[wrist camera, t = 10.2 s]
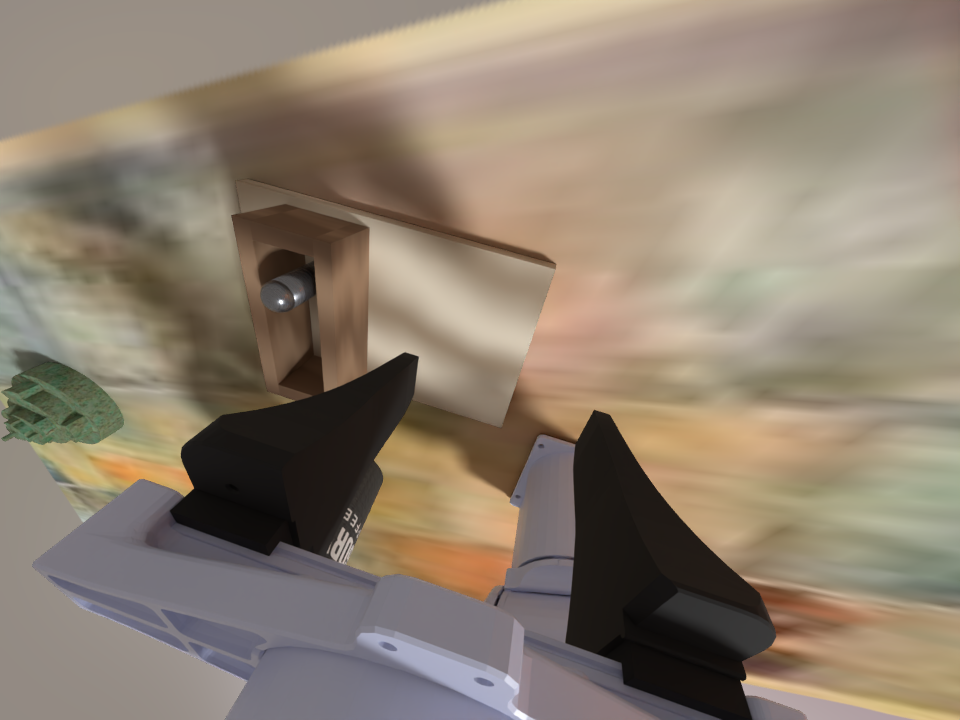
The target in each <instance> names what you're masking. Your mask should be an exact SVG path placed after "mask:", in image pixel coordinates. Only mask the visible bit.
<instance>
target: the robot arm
mask: <svg viewBox="0 0 960 720" xmlns="http://www.w3.org/2000/svg"><path fill="white" fill-rule="evenodd" d="M418 360H419V356H416V355H413V354H409V353H406V352H404V353H402V354H400V355H398V356H397V357H395V358H393V359H392V360H390V361H388V362H386V363H385V364H383V365H381V366H379V367H378V368H376V369H374V370H372V371H370V372H368V373H366V374H365V375H363V376H361V377H359V378H356V379H354V380H352V381H350V382H348V383H346V384H344V385H341V386H339V387H337V388H334V389H331V390H329V391H326V392H323V393H321V394H318V395H314V396H311V397H308V398H304V399H301V400H298V401H294V402H291V403H287V404H282V405H278V406H274V407H269V408H264V409H259V410H253V411H247V412H240V413H234V414H227V415H222V416H220V417H219V418H218V419H216V420H215V421H214V422H212V423H211V424H210V425H209V426H207V427H206V428H205V429H203V430H202V431H201V432H200V433H198V434H197V435H196V436H194V437H193V438H192V439H191V440H189V441H188V442H187V443H186V444H185V445H184V446H183V447H182V450H181V458H182V462H183V465H184V467H185V469H186V471H187V473H188V475H189V478H190V480H191V482H192V484H193V486H194V489H193V490H192V491H191V492H190V493H189V494H188V495H187V496H185V497H184V496H183V495H181V494H180V493H179V492H177V491H175V490H173V489H170V488H168V487H165V486H162V485H159V484H156V483H153V482H151V481H148V480H145V479H139V480H138V481H137V482H135V483H134V484H133V485H131V486H130V487H129V488H128V489H126V490H125V491H124V492H122V493H121V494H120V495H119V496H117V497H116V498H115V499H113V500H112V501H111V502H110V503H108V504H107V505H106V506H104V507H103V508H102V509H101V510H99V511H98V512H97V513H95V514H94V515H93V516H92V517H90V518H89V519H88V520H86V521H85V522H84V523H83V524H81V525H80V526H79V527H77V528H76V529H75V530H74V531H72V532H71V533H70V534H68V535H67V536H66V537H65V538H63V539H62V540H61V541H59V542H58V543H57V544H56V545H54V546H53V547H52V548H50V549H49V550H48V551H47V552H45V553H44V554H43V555H41V556H40V557H39V558H38V559H36V560H35V561H34V562H33V564H32V567H33V568H34V569H35V570H37V571H38V572H39V573H40V574H41V575H43V576H44V577H45V578H46V579H47V580H48V581H49V582H51V583H52V584H53V585H54V586H55V587H57V588H58V589H59V590H60V591H61V592H63V593H64V594H65V595H66V596H67V597H68V598H69V599H71V600H72V601H73V602H74V603H76V604H77V605H78V606H79V607H81V608H83V609H85V610H87V611H90V612H92V613H95V614H97V615H100V616H102V617H105V618H107V619H110V620H112V621H115V622H117V623H119V624H122V625H124V626H126V627H129V628H131V629H133V630H136V631H138V632H140V633H143V634H145V635H147V636H149V637H151V638H153V639H156V640H158V641H160V642H162V643H164V644H167V645H169V646H171V647H173V648H175V649H177V650H180V651H182V652H184V653H186V654H189V655H190V656H193V657H195V658H197V659H199V660H201V661H203V662H205V663H208V664H210V665H212V666H214V667H216V668H218V669H221V670H223V671H225V672H227V673H229V674H231V675H233V676H235V677H238V678H240V679H242V680H244V681H246V682H247V683H246V685H245V686H244V688H243V690H242V691H241V693H240V695H239V696H238V698H237V700H236V702H235V703H234V705H233V706H232V708H231V710H230V711H229V713H228V715H227V716H226V718H225V720H807V717H806V715H805V714H803V713H802V712H801V711H799V710H796V709H793V708H790V707H787V706H784V705H781V704H779V703H776V702H773V701H770V700H767V699H765V698H761V697H757V696H745V694H744V691H743V688H742V685H741V681H744V680H746V673H745V670H744V667H743V664H742V661H743V660H745V659H747V658H750V657H752V656H754V655H756V654H758V653H760V652H762V651H764V650H766V649H767V648H769V647H770V646H771V645H772V644H773V642H774V640H775V638H776V632H775V628H774V626H773V624H772V621H771V619H770V617H769V614H768V612H767V609H766V607H765V605H764V602H763V600H762V598H761V596H760V594H759V592H757V591H756V590H755V589H754V588H753V587H752V586H750V585H749V584H748V583H747V582H746V581H745V580H744V579H742V578H741V577H740V576H739V575H738V574H737V573H735V572H734V571H733V570H732V569H731V568H730V567H729V566H727V565H726V564H725V563H724V562H723V561H722V560H721V559H720V558H719V557H718V556H717V555H716V554H715V553H714V552H713V551H711V550H710V549H709V548H708V547H707V546H706V545H705V544H704V543H703V542H702V541H701V540H700V539H699V538H698V537H697V536H696V535H695V534H694V533H693V531H692V530H691V529H690V528H689V527H688V526H687V525H686V524H685V523H684V522H683V521H682V519H681V518H680V517H679V516H678V515H677V514H676V513H675V511H674V510H673V509H672V508H671V507H670V506H669V504H668V503H667V502H666V501H665V499H664V498H663V497H662V496H661V494H660V493H659V492H658V491H657V489H656V488H655V486H654V485H653V484H652V482H651V481H650V480H649V478H648V477H647V475H646V474H645V472H644V471H643V469H642V468H641V466H640V465H639V463H638V462H637V460H636V459H635V457H634V455H633V454H632V452H631V450H630V449H629V447H628V445H627V444H626V442H625V440H624V439H623V437H622V435H621V433H620V432H619V430H618V428H617V426H616V425H615V423H614V421H613V419H612V418H611V416H610V415H609V414H606V413H603V412H599V411H596V410H594V411H593V413H592V415H591V417H590V419H589V420H588V422H587V424H586V426H585V428H584V430H583V431H582V433H581V435H580V437H579V439H578V441H577V443H576V444H572V443H569V442H566V441H563V440H560V439H557V438H553V437H550V436H547V435H539V436H538V437H537V439H536V441H535V444H534V446H533V448H532V450H531V453H530V455H529V457H528V459H527V462H526V464H525V466H524V469H523V471H522V473H521V475H520V478H519V480H518V482H517V485H516V487H515V489H514V491H513V494H512V496H511V498H510V503H511V504H512V505H513V506H516V507H519V508H520V509H519V517H518V524H517V531H516V538H515V545H514V553H513V560H512V568H508V569H507V572H506V579H505V585H504V586H501V585H498V586H495V587H494V588H493V589H492V590H491V592H490V593H489V595H488V597H487V598H486V599H485V600H484V602H482V601H480V600H477V599H474V598H471V597H468V596H466V595H463V594H460V593H457V592H454V591H451V590H449V589H446V588H443V587H440V586H437V585H434V584H432V583H429V582H426V581H423V580H420V579H418V578H414V577H410V576H405V575H401V574H394V575H386V576H383V577H378V576H376V575H373V574H370V573H367V572H364V571H362V570H359V569H356V568H353V567H350V566H348V565H345V564H342V563H339V562H336V561H334V560H331V559H328V558H325V555H326V553H327V551H328V549H329V547H330V545H331V542H332V540H333V538H334V536H335V534H336V532H337V530H338V528H339V526H340V524H341V522H342V520H343V517H344V515H345V513H346V511H347V509H348V507H349V505H350V503H351V501H352V500H353V498H354V496H355V494H356V492H357V490H358V488H359V486H360V484H361V482H362V480H363V478H364V477H365V475H366V473H367V471H368V469H369V467H370V465H371V464H372V462H373V461H374V459H375V457H376V456H377V454H378V453H379V451H380V450H381V448H382V447H383V445H384V444H385V442H386V441H387V440H388V438H389V437H390V435H391V434H392V432H393V431H394V429H395V428H396V426H397V425H398V423H399V422H400V420H401V419H402V417H403V416H404V414H405V412H406V410H407V408H408V406H409V404H410V402H411V400H412V398H413V396H414V392H415V384H416V376H417V368H418ZM539 444H543V445H539ZM740 680H741V681H740Z"/></svg>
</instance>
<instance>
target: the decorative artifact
mask: <svg viewBox="0 0 960 720" xmlns="http://www.w3.org/2000/svg"><path fill="white" fill-rule="evenodd" d="M11 382H12V387H11V388H9V389H6V390H4V391H2V392H1V393H3V394H4V395H5V396H6V397H8V398H9V399H8V401H7V403H8V406H9V407H8V408H6V409H4V410H2V412H1V413H2V416H3V417H4V418H6V419H8V421H7V422H4V424H6V425H7V426H6V428H7V430H8V431H9V432H10V434H8V435H7V436H5V437H3V438H1V439H2V440H3V441H7V440H9V439H11V438H13V437H15V438H17V439H22V440H27V441H28V442H31V441H33V442H36V443H38V444H41V445H44V444H45V443H47V442H48V443H51V442H52V441H54V442H57V443H66V442H68V441H70V440H72V441H74V442H78V441H79V442H82V443H86V444H96V443H98V442H100V441H101V440H103V439H104V438H106V437H108V436H109V435H111V434H112V433H114V432H116V431H117V430H119V429H120V428H122V426H123V424H124V419H123V415H122V413H121V411H120V409H119V408H118V406H117V405H116V403H115V402H114V401H113V400H112V399H111V398H110V396H109V395H108V394H107V393H106V392H105V391H104V390H103V389H101V388H100V387H99V386H98V385H97V384H95V383H94V382H93V381H91V380H90V379H89V378H87V377H86V376H84V375H83V374H81V373H79V372H78V371H76V370H74V369H72V368H70V367H67V366H65V365H62V364H59V363H54V362H47V363H44V364H42V365H39V366H37V367H35V368H32V369H30V370H27V371H25V372H23V373H20V374H18V375H15V376H14V377H13V378H12V381H11Z"/></svg>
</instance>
